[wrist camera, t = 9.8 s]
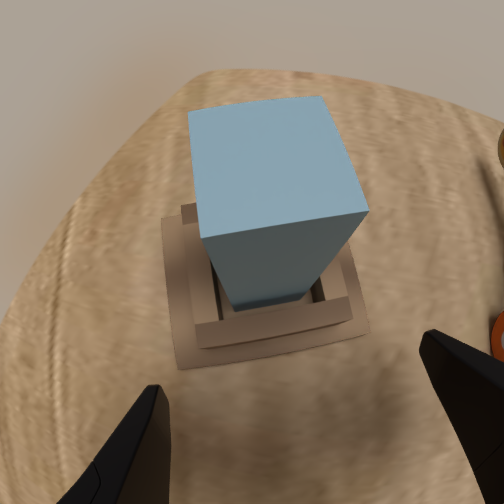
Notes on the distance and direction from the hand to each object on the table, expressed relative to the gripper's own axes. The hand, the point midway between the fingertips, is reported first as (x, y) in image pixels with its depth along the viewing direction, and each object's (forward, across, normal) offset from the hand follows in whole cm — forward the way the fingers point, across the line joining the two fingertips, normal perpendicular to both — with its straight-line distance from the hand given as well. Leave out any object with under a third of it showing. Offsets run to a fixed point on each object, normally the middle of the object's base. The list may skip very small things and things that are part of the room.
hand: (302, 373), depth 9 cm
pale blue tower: (+10, 0, +2) cm, 10 cm away
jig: (+11, 0, +3) cm, 11 cm away
